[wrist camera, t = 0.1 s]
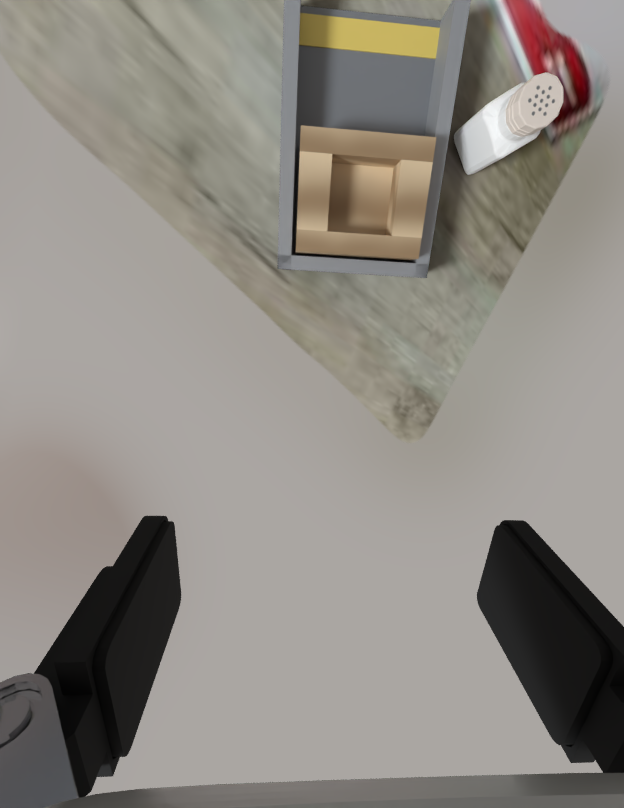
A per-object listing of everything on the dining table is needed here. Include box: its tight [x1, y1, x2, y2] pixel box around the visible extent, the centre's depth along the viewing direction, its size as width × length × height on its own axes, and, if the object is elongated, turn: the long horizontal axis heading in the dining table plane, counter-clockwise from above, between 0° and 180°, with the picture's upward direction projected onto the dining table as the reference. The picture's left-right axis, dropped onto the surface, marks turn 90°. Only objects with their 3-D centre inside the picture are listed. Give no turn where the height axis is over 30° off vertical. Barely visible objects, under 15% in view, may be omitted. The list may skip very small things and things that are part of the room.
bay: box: [278, 0, 471, 278], centre depth 32 cm, size 20×14×4 cm
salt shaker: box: [454, 72, 563, 175], centre depth 29 cm, size 4×4×10 cm
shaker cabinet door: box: [296, 125, 437, 261], centre depth 32 cm, size 9×11×4 cm
